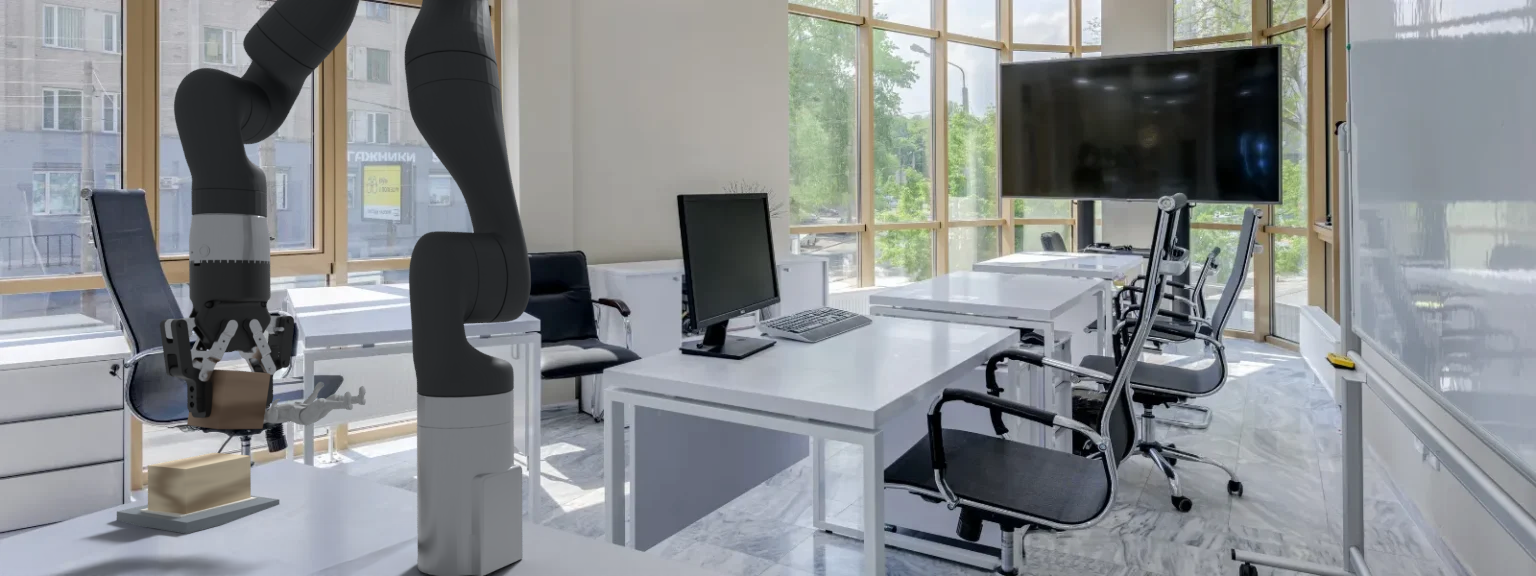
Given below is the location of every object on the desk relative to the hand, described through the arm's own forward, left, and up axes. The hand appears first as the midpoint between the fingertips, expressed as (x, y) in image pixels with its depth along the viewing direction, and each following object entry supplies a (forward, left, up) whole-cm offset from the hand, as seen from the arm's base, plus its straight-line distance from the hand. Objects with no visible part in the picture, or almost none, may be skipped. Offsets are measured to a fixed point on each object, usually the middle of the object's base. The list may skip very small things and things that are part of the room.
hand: (231, 412), depth 95 cm
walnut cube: (0, +1, -1) cm, 2 cm away
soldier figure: (-12, -5, 0) cm, 13 cm away
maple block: (+10, -3, -12) cm, 15 cm away
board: (+10, -3, -13) cm, 16 cm away
